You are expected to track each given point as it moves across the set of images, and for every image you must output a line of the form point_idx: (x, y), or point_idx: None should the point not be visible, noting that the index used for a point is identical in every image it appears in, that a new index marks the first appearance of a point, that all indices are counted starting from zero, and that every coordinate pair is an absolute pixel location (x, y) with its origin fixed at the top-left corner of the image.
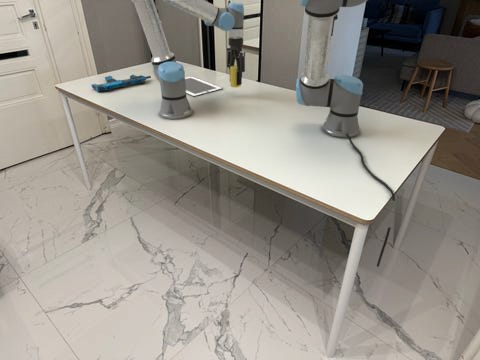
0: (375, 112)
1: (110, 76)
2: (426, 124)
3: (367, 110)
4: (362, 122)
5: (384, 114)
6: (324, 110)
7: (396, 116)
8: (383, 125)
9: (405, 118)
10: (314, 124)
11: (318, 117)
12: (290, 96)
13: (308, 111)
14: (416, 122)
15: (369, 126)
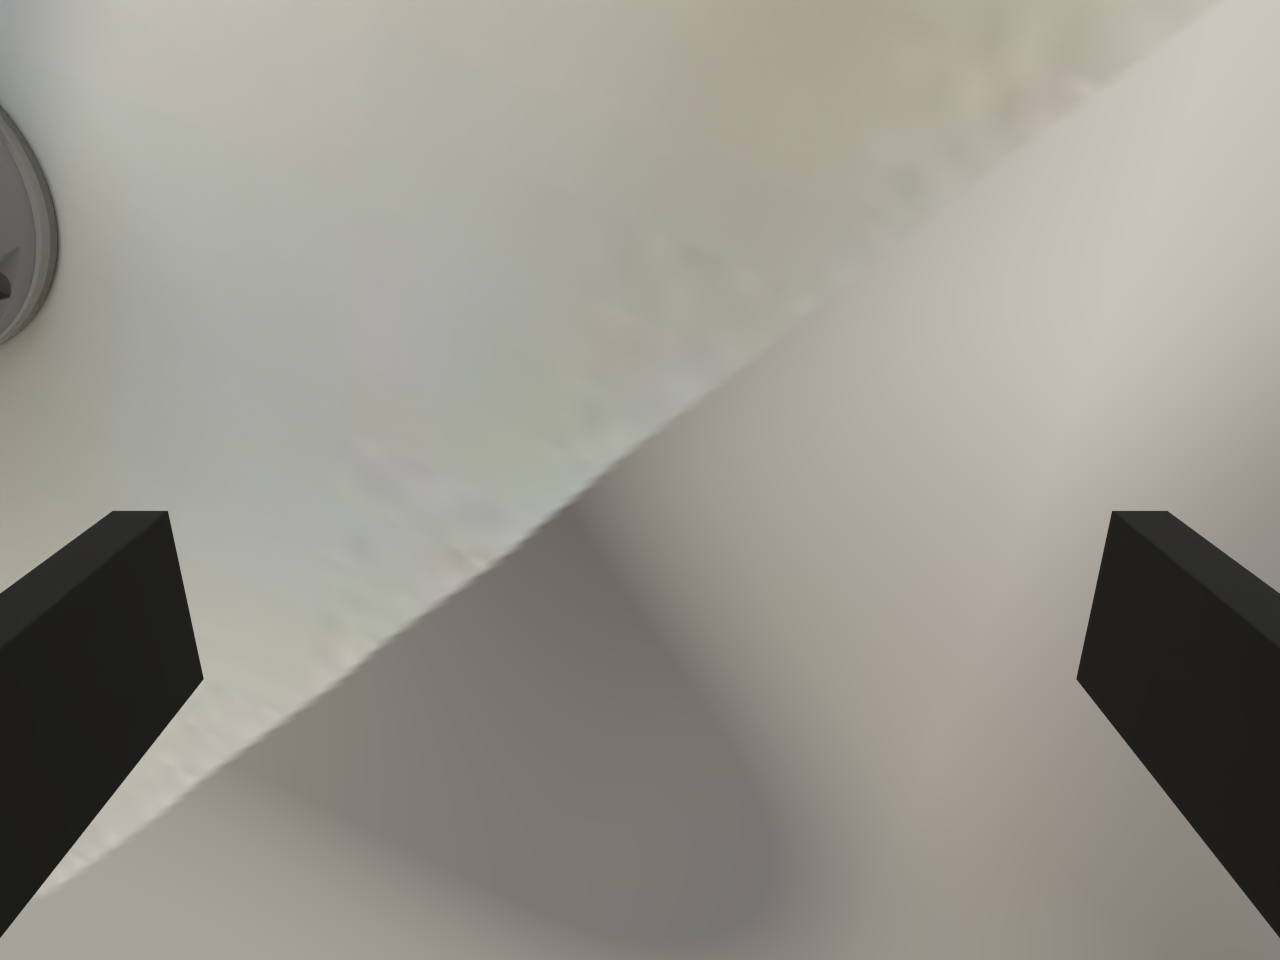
0: (307, 669)
1: None
2: (62, 865)
3: (356, 632)
4: (93, 474)
5: (259, 710)
6: (398, 264)
7: (214, 767)
8: None
9: (173, 802)
10: (36, 3)
11: (218, 123)
12: (888, 43)
13: (389, 80)
14: (97, 828)
15: (9, 488)
